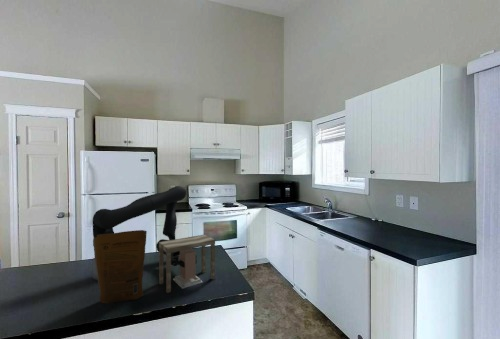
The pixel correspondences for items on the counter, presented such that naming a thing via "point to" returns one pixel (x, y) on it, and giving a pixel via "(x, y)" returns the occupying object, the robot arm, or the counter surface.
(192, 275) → the plain brown box
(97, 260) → the pancake mix bag
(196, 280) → the tray
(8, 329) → the counter surface
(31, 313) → the counter surface
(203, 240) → the small wooden table
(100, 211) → the robot arm
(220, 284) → the counter surface
